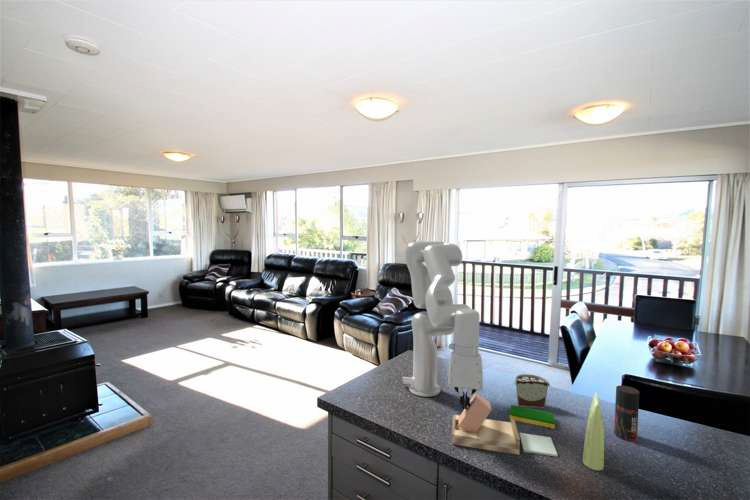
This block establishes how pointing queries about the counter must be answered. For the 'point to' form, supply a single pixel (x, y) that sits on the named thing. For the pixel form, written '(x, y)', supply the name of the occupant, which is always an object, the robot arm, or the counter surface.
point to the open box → (488, 436)
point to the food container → (531, 390)
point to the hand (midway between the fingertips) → (464, 407)
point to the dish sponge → (532, 416)
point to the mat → (538, 444)
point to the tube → (594, 438)
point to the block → (474, 414)
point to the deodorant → (626, 413)
